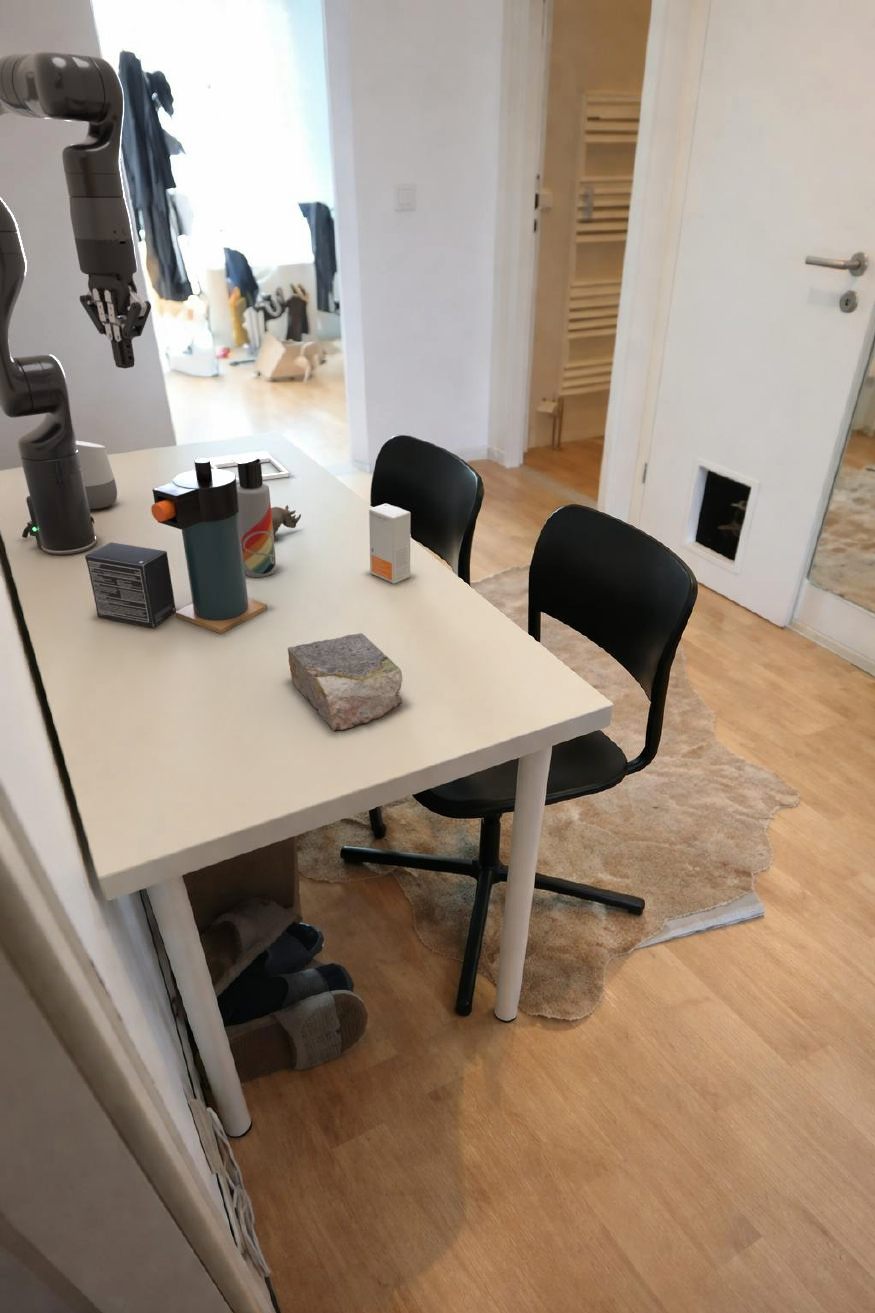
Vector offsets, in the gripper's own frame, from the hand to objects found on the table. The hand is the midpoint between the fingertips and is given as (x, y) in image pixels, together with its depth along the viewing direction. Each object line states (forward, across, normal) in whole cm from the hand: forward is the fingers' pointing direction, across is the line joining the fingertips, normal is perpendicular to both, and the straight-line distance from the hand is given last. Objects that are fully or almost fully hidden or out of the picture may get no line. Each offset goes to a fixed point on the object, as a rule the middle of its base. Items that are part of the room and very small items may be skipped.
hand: (125, 366), depth 121 cm
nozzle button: (+17, +16, -10) cm, 25 cm away
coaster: (+35, +16, -2) cm, 39 cm away
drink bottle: (+34, +16, -3) cm, 38 cm away
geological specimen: (+35, +47, -9) cm, 59 cm away
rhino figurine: (+35, +2, +25) cm, 43 cm away
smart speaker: (+35, -40, +17) cm, 56 cm away
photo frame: (+35, -32, +53) cm, 71 cm away
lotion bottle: (+35, +10, +13) cm, 39 cm away
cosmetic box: (+35, +30, +24) cm, 52 cm away
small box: (+35, +6, -10) cm, 37 cm away
